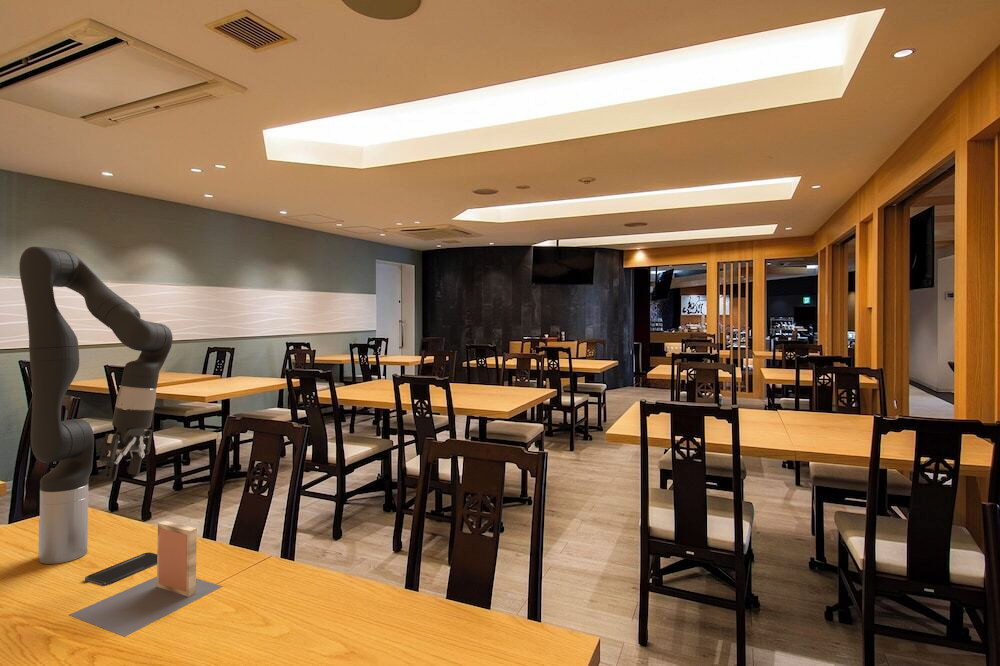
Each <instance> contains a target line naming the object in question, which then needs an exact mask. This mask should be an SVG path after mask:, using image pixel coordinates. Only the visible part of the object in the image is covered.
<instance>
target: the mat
mask: <svg viewBox="0 0 1000 666" xmlns="http://www.w3.org/2000/svg"><path fill="white" fill-rule="evenodd" d="M222 587H223V588H224V586H223V585H221V584H217V583H213V582H209V581H207V580H203V579H199V578H197V577H196V594H194V595H192V596H190V597H188V596H185V595H181V594H178V593H175V592H172V591H169V590H166V589H163V588H159V587H157V576H155V577H153V578H152V577H151V578H150V579H148V580H145V581H143V582H141V583H139V584H137V585H135V586H132V587H129V588H127V589H125V590H123V591H120V592H118V593H116V594H113V595H111V596H109V597H106V598H104V599H102V600H98V601H97V602H95V603H92V604H90V605H88V606H85V607H83V608H82V609H81V608H80V609H79V610H76V611H74V612H72V613H69V614H68V616H70V617H72V618H74V619H77V620H80V621H83V622H86V623H89V625H90V624H91V625H93V626H95V627H98V628H101V629H104V630H107V631H109V632H111V633H114V634H117V635H119V636H122V637H127V636H129V635H131V634H134V633H135V632H136V631H138V630H140V629H143V628H145V627H147V626H148V625H151V624H152V623H154V622H156V621H159V620H160V619H162V618H164V617H166V616H169V615H170V614H173V613H174V612H176V611H178V610H179V609H181V608H184V607H186V606H188V605H190V604H191V603H193V602H196V601H197V600H199V599H201V598H203V597H206V596H208V595H209V594H212V593H213V592H215V591H217V590H219V589H221V588H222Z"/></svg>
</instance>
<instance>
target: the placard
mask: <svg viewBox="0 0 1000 666" xmlns="http://www.w3.org/2000/svg"><path fill="white" fill-rule="evenodd" d="M197 532H198V529H197V528H196V527H194V526H193V527H192V526H188V525H184V524H181V523H175V522H172V521H168V520H163V521H159V522H157V549H156V550H157V551H156V552H157V553H156V554H157V565H156V568H157V569H156V577H157V587H159V588H163V589H166V590H169V591H172V592H175V593H178V594H181V595H185V596H188V597H190V596H192V595H194V594H196V578H197V542H198V540H197V539H198V538H197V537H198V536H197V534H198V533H197Z"/></svg>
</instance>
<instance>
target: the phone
mask: <svg viewBox="0 0 1000 666" xmlns="http://www.w3.org/2000/svg"><path fill="white" fill-rule="evenodd" d="M154 566H157V553H154V552H143V553H142V554H141V553H140V554H139V555H136V556H134V557H130V558H129V559H126V560H124V561H121V562H119V563H117V564H114V565H111V566H109V567H105V568H104V569H101V570H99V571H96V572H93V573H91V574H89V575H86V576H85V577H84V582H85V583H86V584H87V583H92V584H97V585H100V586H109V585H112V584H116V583H117V582H119V581H121V580H124V579H126V578H128V577H131V576H134V575H136V574H138V573H140V572H142V571H145V570H148V569H150V568H152V567H154Z"/></svg>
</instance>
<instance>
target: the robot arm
mask: <svg viewBox="0 0 1000 666" xmlns="http://www.w3.org/2000/svg"><path fill="white" fill-rule="evenodd" d="M19 277H20V282H21V289H22V292H23V299H24V303H25V309H26V317H27V318H26V319H27V329H28V349H29V352H28V353H29V364H30V372H31V373H30V374H31V390H32V391H31V393H32V394H31V395H32V397H31V399H32V403H31V404H32V406H31V419H30V420H31V423H30V447H31V451H32V453H33V456H34V457H35V459H36V460H38V462H41V463H44V464H49V463H54V462H58V461H59V462H58V464H57V465H56V466H55V467H54V468H53V469H51V470H50V471H49V472H47V473H45V474H44V475H43V476H42V477H41V478H40V480H39V519H38V558H39V560H38V561H39V563H41V564H45V565H46V564H47V565H51V564H52V565H53V564H54V565H55V564H62V563H67V562H71V561H74V560H76V559H79V558H81V557H84V556H85V555H86V554H87V553H88V551H89V549H88V545H89V544H88V543H89V541H88V540H89V478H90V475H91V474H92V470H93V465H94V464H93V461H94V460H93V459H94V450H95V449H94V448H95V435H94V434H95V433H94V431H93V428H92V425H91V424H90V423H89V422H88V421H87V420H85V419H82V418H73V419H66V420H62V405H63V404H62V403H63V400H64V397H65V395H66V394H67V391H68V389H69V388H70V386H71V384H72V383H73V382H74V379H75V377H76V375H77V373H78V371H79V367H80V352H79V351H80V349H79V340H78V338H77V335H76V333H75V332H74V330H73V328H72V327H71V325H69V323H68V322H67V320H66V319H65V318H64V317H63V315H62V313H61V311H60V310H59V308H58V306H57V304H56V299H55V295H54V294H55V293H54V288H55V287H56V288H64V287H65V288H67V289H69V290H72V291H73V292H75V293H77V294H79V295H81V296H82V297H83V298H84V301H85V302H84V303H85V305H86V308H87V310H88V312H90V314H91V315H92V316H93V317H94V318H95V319H96V320H98V321H99V322H101V323H102V324H103V325H104V326H106V327H107V328H108V329H110V330H111V331H112V332H113V334H114V335H115V336H116V337H117V339H118V340H119V341H120V342H121V344H122V345H124V346H125V347H127V348H129V349H131V350H134V351H139V352H140V354H139V356H138V357H137V359H136V360H131V361H128V362H127V363H125V365H124V368H123V372H122V378H121V381H120V382H121V383H120V388H119V390H118V393H117V397H116V400H115V401H116V402H115V407H114V412H113V416H112V417H113V418H112V422H111V425H112V427H115V428H116V431H115V433H105V435H104V439H103V441H102V442H103V443H102V447H101V451H100V455H99V462H103V463H105V471H104V475H103V480H104V481H106V482H114V481H117V475H118V470H119V465H120V464H119V463H120V461H121V460H122V458H123V456H126V455H127V453H128V452H129V454H130V456H131V457H130V460H129V466H128V469H127V470H128V471H127V473H128V475H133V476H134V475H135V476H137V475H139V474H140V471H141V466H142V462H143V459H144V458H145V456H146V455H149V454H150V451H151V445H152V437H153V429H149V428H151V427H152V421H153V415H154V410H155V405H156V400H157V388H158V382H159V378H160V372H161V370H162V367H163V366H164V364H165V362H166V360H167V357H168V355H169V353H170V351H171V348H172V345H173V340H174V339H173V338H174V337H173V333H172V331H171V329H170V327H168V326H167V325H166V324H163V323H159V322H153V321H148V320H145V319H143V318H141V313H140V311H139V310H138V309H137V308H136V307H135V306H134V305H132V304H130V302H128V301H127V300H125V299H124V298H123V297H121V296H120V295H119V294H117V293H116V292H115V291H113V290H112V289H111V288H110V287H109V286H107V285H106V284H105V283H104V282H103V281H102V280H101V279H100V278H99V276H97V274H95V273H94V271H93V270H92V269H91V268H90V267H89V266H88V265H87V264H86V263H85V262H84V261H83V260H82V259H81V258H80V257H79V256H78V255H76V254H75V253H73V252H71V251H67V250H63V249H57V248H50V247H44V246H29V247H27V248H26V249H25V250H24V251H23V252H22V253H21V256H20V260H19Z"/></svg>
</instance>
